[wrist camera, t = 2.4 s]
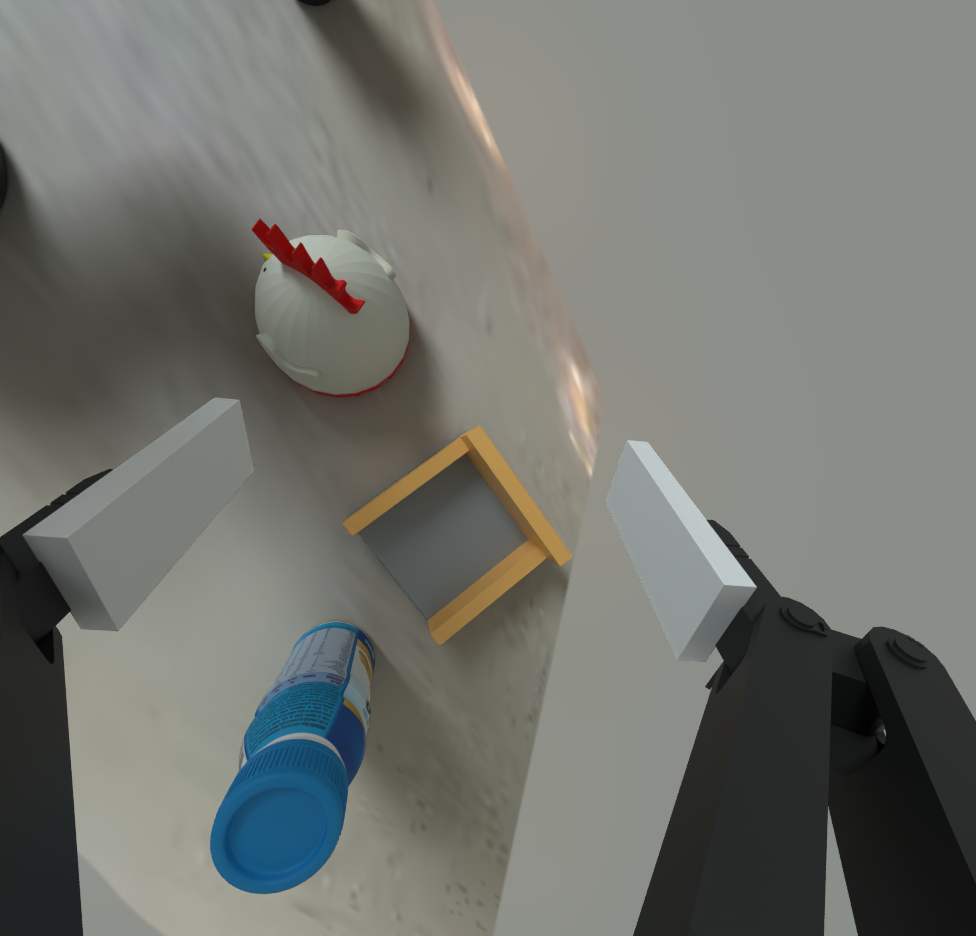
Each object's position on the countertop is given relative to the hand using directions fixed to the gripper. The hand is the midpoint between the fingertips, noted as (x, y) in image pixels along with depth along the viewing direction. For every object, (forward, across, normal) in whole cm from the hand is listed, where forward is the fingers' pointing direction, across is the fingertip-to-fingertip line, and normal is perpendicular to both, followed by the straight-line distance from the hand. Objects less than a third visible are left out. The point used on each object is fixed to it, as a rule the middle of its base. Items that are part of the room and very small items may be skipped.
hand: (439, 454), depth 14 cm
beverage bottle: (+13, -10, -33) cm, 37 cm away
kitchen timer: (+30, -12, -4) cm, 33 cm away
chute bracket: (+21, +1, -22) cm, 30 cm away
